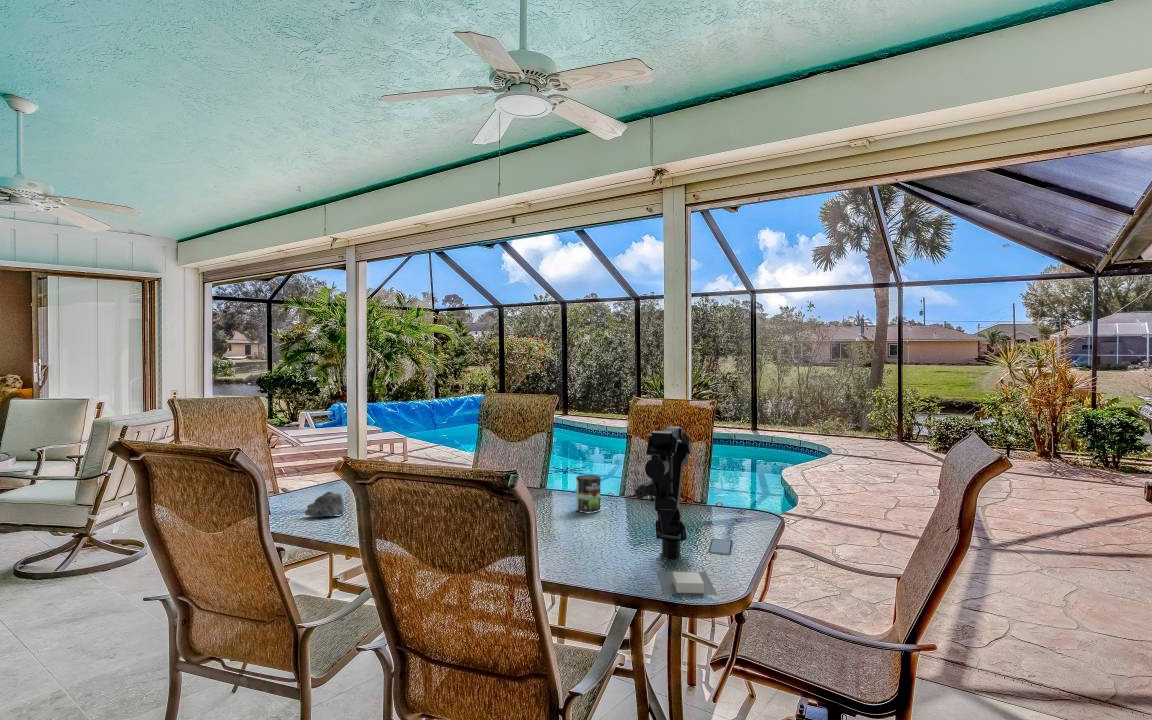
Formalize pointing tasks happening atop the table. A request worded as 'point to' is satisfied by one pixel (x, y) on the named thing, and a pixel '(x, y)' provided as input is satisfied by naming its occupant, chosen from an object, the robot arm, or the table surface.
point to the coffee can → (588, 493)
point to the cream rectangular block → (688, 582)
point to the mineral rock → (326, 505)
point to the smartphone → (720, 546)
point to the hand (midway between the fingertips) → (662, 526)
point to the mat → (669, 587)
